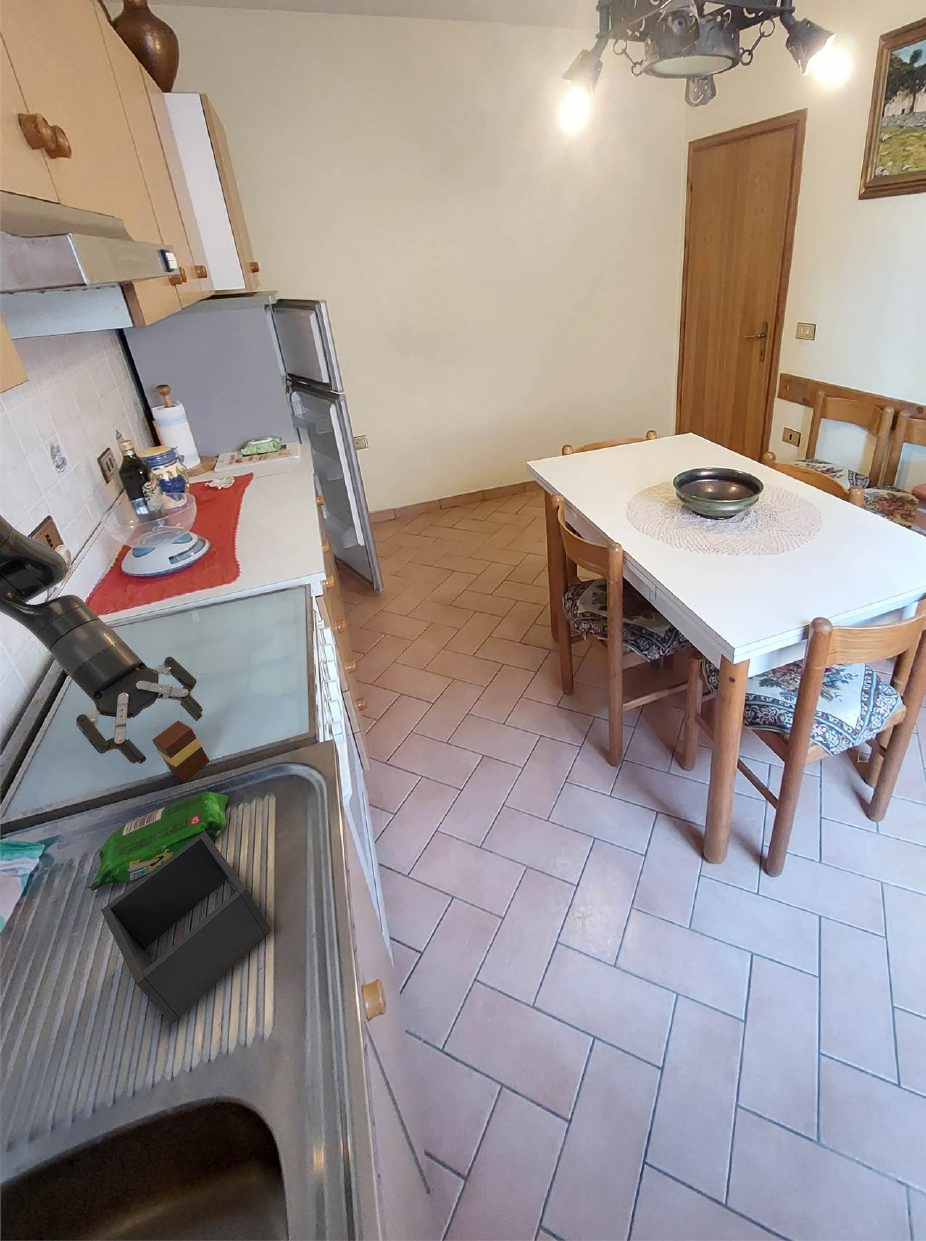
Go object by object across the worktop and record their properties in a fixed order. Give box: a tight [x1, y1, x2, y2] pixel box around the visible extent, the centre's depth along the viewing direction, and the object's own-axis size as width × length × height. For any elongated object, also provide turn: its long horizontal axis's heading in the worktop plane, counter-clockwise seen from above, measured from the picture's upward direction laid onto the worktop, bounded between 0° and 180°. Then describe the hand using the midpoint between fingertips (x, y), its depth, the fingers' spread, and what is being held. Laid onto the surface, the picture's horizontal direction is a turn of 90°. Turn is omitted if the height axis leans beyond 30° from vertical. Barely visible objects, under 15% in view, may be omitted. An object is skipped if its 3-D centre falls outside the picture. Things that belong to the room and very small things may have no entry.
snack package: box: [87, 791, 229, 892], centre depth 76 cm, size 7×16×5 cm, turn 118°
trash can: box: [100, 831, 272, 1025], centre depth 64 cm, size 11×11×10 cm
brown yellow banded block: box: [151, 720, 210, 783], centre depth 86 cm, size 4×4×8 cm
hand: (172, 739), depth 85 cm, fingers open, 8 cm apart
